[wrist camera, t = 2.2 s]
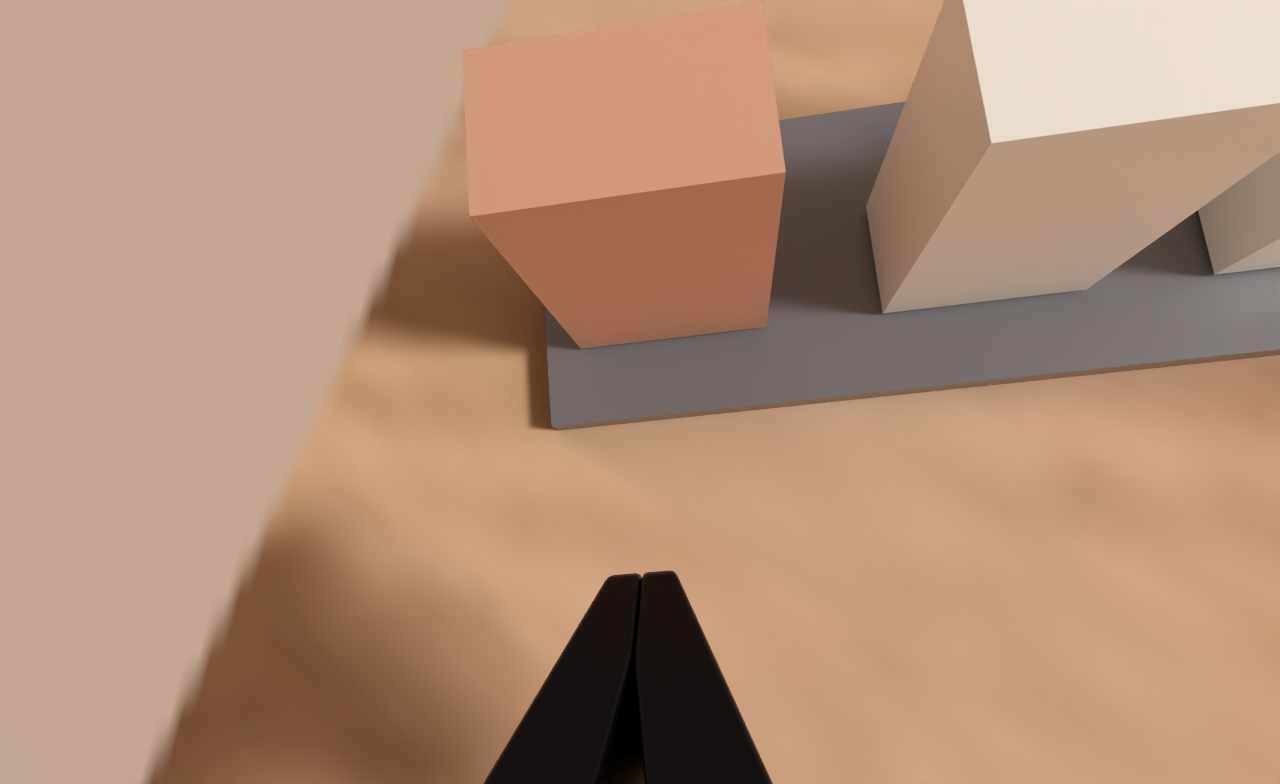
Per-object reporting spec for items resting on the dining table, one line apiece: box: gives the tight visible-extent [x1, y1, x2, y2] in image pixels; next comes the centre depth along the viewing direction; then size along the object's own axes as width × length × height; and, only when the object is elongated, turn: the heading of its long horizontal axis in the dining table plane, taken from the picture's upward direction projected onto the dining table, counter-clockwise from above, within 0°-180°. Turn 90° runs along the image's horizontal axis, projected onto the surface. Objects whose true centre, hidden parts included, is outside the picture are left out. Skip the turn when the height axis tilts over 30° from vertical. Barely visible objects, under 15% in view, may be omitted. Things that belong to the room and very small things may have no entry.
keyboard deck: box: [544, 102, 1280, 430], centre depth 20 cm, size 8×23×1 cm, turn 95°
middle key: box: [866, 0, 1280, 313], centre depth 15 cm, size 3×5×8 cm, turn 95°
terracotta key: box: [463, 1, 786, 349], centre depth 16 cm, size 3×5×8 cm, turn 95°
